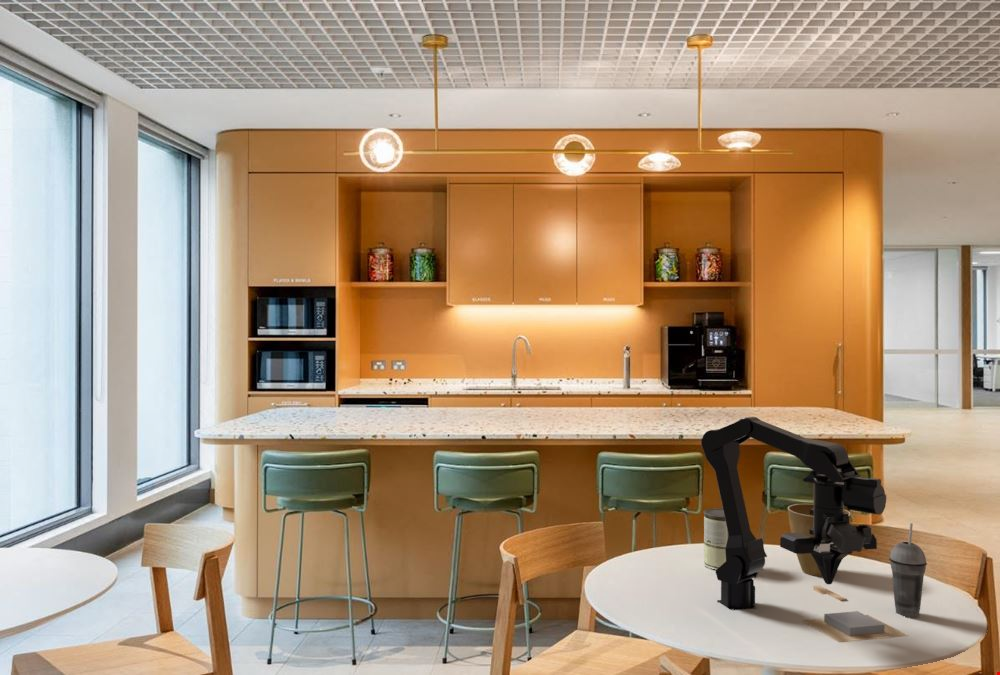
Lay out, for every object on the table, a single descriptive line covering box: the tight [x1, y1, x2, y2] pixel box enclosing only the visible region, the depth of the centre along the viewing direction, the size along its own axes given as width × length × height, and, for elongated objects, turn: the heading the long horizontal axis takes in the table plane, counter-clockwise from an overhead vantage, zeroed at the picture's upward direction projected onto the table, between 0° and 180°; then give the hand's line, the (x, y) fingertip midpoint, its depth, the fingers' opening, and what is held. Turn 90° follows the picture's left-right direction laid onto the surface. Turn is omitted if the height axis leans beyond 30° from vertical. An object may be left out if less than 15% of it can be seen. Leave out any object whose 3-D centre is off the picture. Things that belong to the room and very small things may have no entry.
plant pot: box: [787, 503, 851, 577], centre depth 202 cm, size 15×15×16 cm
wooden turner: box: [812, 585, 848, 602], centre depth 180 cm, size 16×5×1 cm, turn 14°
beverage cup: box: [888, 522, 928, 618], centre depth 172 cm, size 7×7×20 cm
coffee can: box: [703, 507, 728, 571], centre depth 207 cm, size 10×10×14 cm
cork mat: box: [801, 614, 910, 643], centre depth 162 cm, size 16×12×1 cm
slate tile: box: [823, 610, 885, 636], centre depth 162 cm, size 2×8×8 cm
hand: (828, 583), depth 160 cm, fingers closed
